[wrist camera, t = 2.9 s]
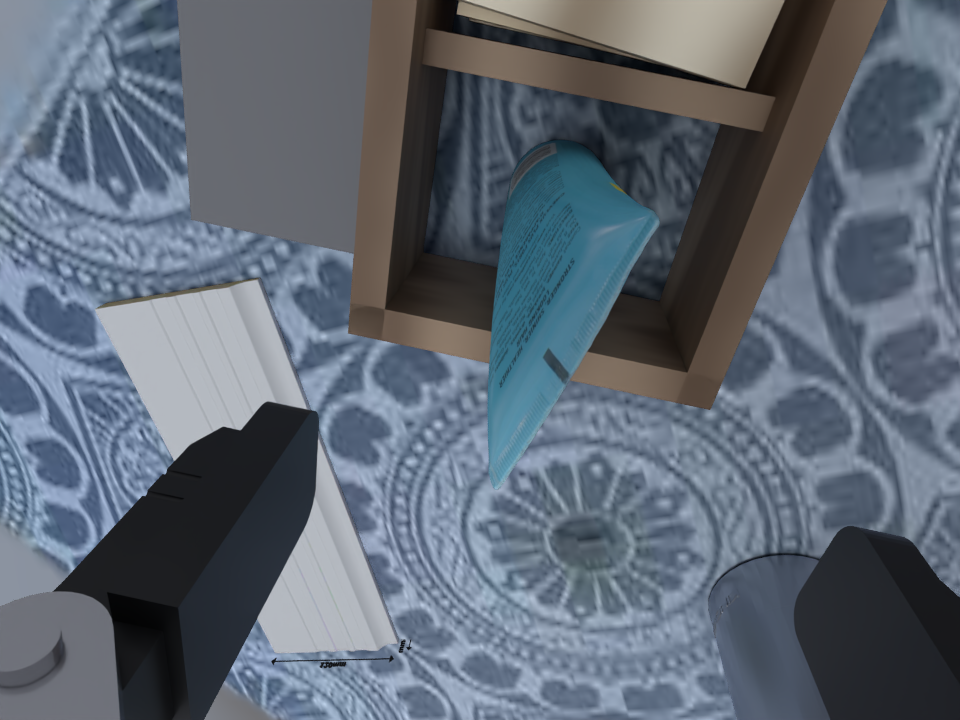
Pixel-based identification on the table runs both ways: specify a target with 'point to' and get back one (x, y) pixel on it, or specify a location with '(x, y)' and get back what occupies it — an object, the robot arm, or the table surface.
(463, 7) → the offcut middle
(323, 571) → the baseboard molding
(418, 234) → the open wooden box
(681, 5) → the offcut top
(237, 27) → the mat
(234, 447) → the robot arm
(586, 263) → the tube
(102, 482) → the table surface
